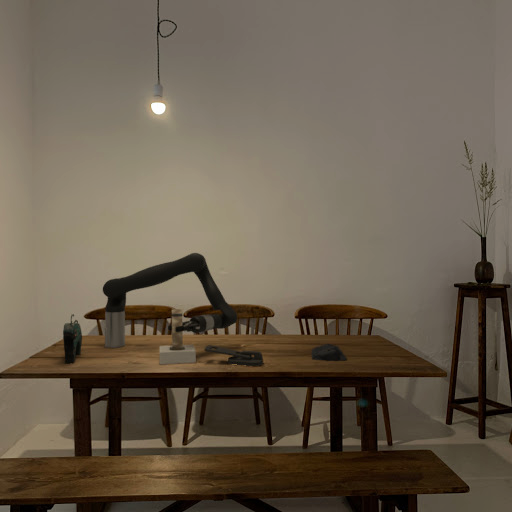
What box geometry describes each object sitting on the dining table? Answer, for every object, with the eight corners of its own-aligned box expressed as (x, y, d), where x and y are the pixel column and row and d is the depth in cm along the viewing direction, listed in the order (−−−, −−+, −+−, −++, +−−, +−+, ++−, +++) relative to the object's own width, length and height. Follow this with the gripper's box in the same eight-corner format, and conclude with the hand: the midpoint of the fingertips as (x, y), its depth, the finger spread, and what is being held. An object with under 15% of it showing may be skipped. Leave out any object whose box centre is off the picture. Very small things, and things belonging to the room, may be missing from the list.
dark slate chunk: (342, 350, 226) (342, 341, 226) (347, 362, 204) (347, 351, 204) (310, 350, 228) (310, 340, 227) (311, 361, 206) (311, 350, 205)
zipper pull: (208, 344, 207) (264, 346, 203) (208, 359, 208) (264, 362, 203) (202, 348, 199) (260, 351, 194) (202, 364, 199) (260, 367, 194)
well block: (159, 364, 198) (159, 352, 198) (159, 357, 211) (159, 345, 211) (195, 362, 201) (195, 351, 201) (193, 355, 214) (193, 344, 214)
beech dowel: (172, 356, 203) (171, 310, 203) (172, 354, 208) (171, 309, 207) (183, 356, 204) (182, 310, 203) (182, 353, 209) (182, 308, 208)
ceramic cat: (75, 364, 198) (75, 317, 197) (59, 365, 197) (58, 317, 196) (84, 353, 218) (84, 310, 217) (69, 354, 216) (69, 310, 216)
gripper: (191, 313, 221) (161, 318, 208) (212, 317, 211) (182, 322, 199) (191, 329, 221) (162, 335, 208) (212, 333, 212) (182, 339, 199)
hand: (172, 328), depth 204 cm, fingers closed on beech dowel, 4 cm apart
